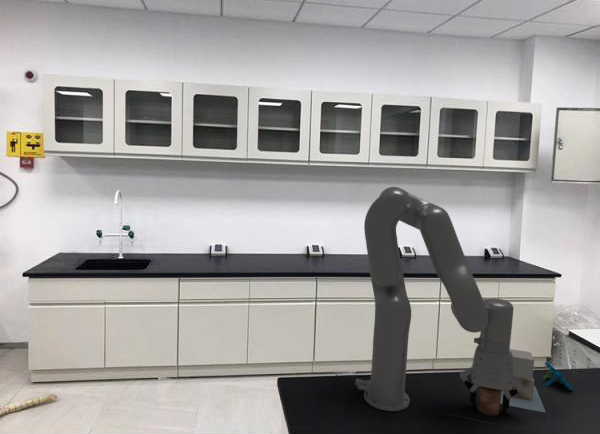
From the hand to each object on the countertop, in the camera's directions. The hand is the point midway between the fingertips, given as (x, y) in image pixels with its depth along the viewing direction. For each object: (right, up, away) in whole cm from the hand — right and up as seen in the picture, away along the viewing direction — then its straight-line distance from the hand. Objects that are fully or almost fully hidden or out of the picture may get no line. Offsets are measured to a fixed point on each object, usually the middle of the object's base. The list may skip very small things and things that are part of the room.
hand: (488, 406), depth 122 cm
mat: (+12, -1, +10) cm, 15 cm away
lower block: (+13, 0, +10) cm, 17 cm away
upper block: (+13, +6, +10) cm, 17 cm away
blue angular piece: (+28, -1, +17) cm, 33 cm away
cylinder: (0, -1, 0) cm, 1 cm away
